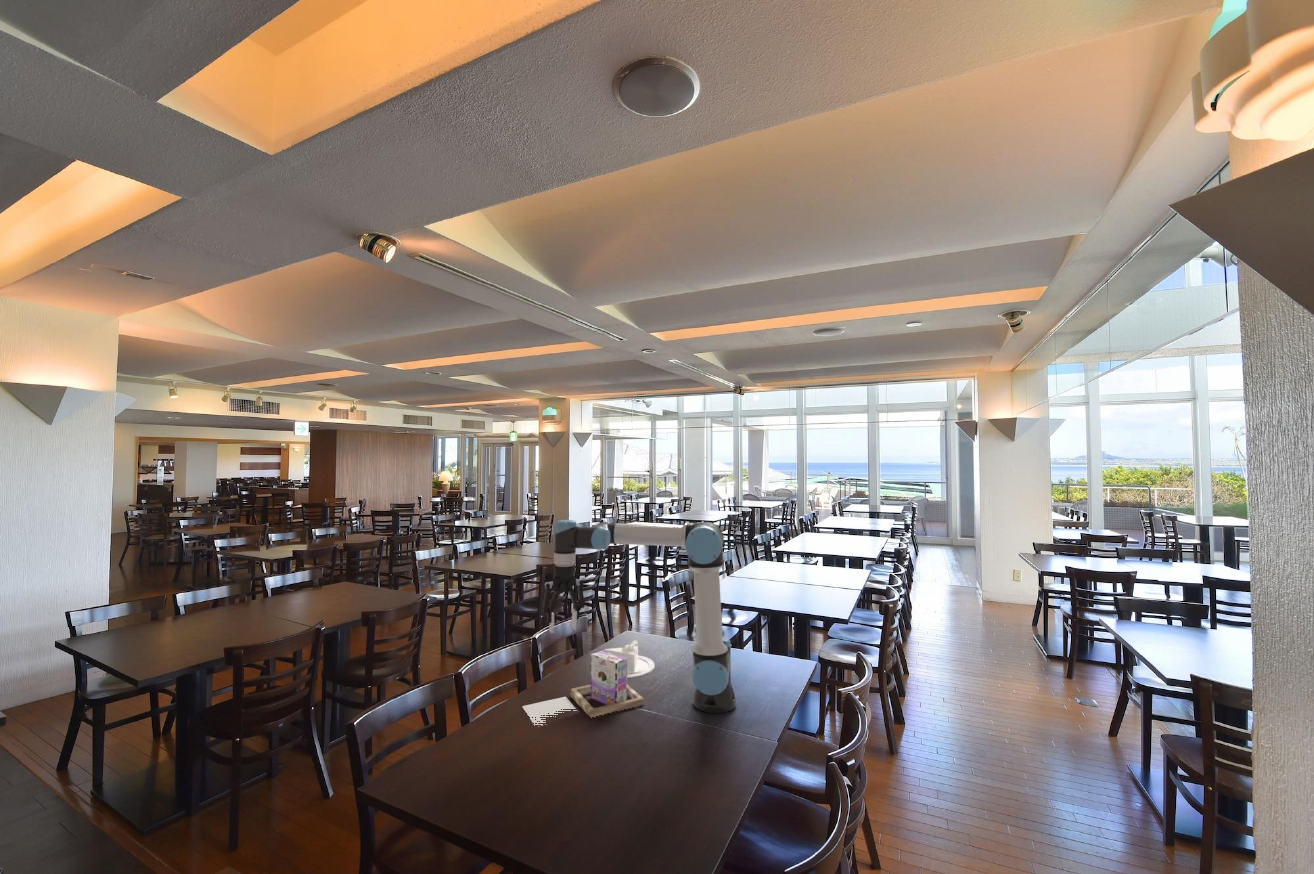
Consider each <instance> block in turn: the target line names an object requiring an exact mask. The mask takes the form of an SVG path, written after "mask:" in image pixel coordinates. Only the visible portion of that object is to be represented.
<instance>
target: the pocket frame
mask: <svg viewBox="0 0 1314 874" xmlns="http://www.w3.org/2000/svg"><path fill="white" fill-rule="evenodd" d="M588 695H591V684H587V685H582V686H577V687H574V688H573V687H572V688H570V698H572V699H573V700H574V701H575V702H576V704H577V705H578V706H579V707H580V708H581V709H582V710H583V712H585V713H586V714H587V716H588V717H589V718H590V717H591V718H590V719H593V718H592V717H594V718H597V717H596V716H598V717H600V716H599V715H602V716H605V715H604V714H606V713H610V714H613V713H612V712H614V713H616V712H615V711H618V712H621V710H622V711H625V710H624V709H626V710H629V708H630V709H633V708H632V707H634V708H637V707H641V705H642V706H644V705H645V699H644V697H643V696H642V695H640V694H639V693H638V692H637V691H636V690H635V689H633V688H632V687H631V686H630V685H629V684H627V697H629V698H630V699H627V701H623V702H618V703H614V704H610V705H606V704H605V705H602V706H599V707H593V706H592V705H591V704H590V703H589V702H588V701H587V700H586V698H585V697H584V696H588ZM606 715H607V714H606Z"/></svg>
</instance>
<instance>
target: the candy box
mask: <svg viewBox="0 0 1314 874" xmlns="http://www.w3.org/2000/svg"><path fill="white" fill-rule="evenodd" d="M590 685H591V694H590V699H593V700H594V701H597V702H599V703H600V704H604V705H605V706H606V705H610V704H614V703H618V702H623V701H627V700H628V699H627V698H628V696H627V685H628V678H627V659H625V658H622V657H619V656H616V655H613V654H610V653H608V652H605V651H604V650H599V651H597V652H593V653H591V654H590Z"/></svg>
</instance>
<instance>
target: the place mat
mask: <svg viewBox="0 0 1314 874" xmlns="http://www.w3.org/2000/svg"><path fill="white" fill-rule="evenodd" d="M521 707H522V709H523V710H524V712H525V713H527V714H526V715H527V716H529V717H530V718H529V717H528V718H529V719H530V721H531V722H532V724H533V723H534V724H533V726H535V725H541V726H544V725H543V724H538V723H546V722H543V721H546V720H541V719H546V718H540V717H549V716H546V715H558V714H554V713H562V712H558V711H571V710H563V709H577V708H576V707H575V706H574V704H573V703H572V702H571V701H570V700H569V699H568V698H567V696H562V697H559V698H553V699H548V700H544V701H539V702H535V703H531V704H527V705H523V706H521ZM561 709H562V710H561ZM556 711H557V712H556ZM573 711H578V709H577V710H573ZM548 713H549V714H548ZM563 713H564V712H563ZM541 715H542V716H541ZM543 715H545V716H543ZM532 717H533V718H532ZM535 717H536V718H535ZM550 717H552V716H550ZM553 717H554V716H553ZM555 717H556V716H555ZM535 719H536V720H535ZM537 721H538V722H537ZM539 721H540V722H539ZM535 723H537V724H535Z"/></svg>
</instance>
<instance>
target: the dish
mask: <svg viewBox="0 0 1314 874" xmlns="http://www.w3.org/2000/svg"><path fill="white" fill-rule="evenodd" d="M638 644H639V643H638V640H633V641H632V642H631V643H629V644H626V645H625V644H624V646H623V647H613V648H604V649H603V651H605V652H608V653H610V654H613V655H616V656H619V657H622V658H625V659H627V679H633V678H638V677H639V678H640V677H643V676H646V675H647V674H650V673H651V672H653V671H654V670H655V666H656V664H655V661H653V660H652V659H650V658H649V657H647V656H643V655H639V645H638Z"/></svg>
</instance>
